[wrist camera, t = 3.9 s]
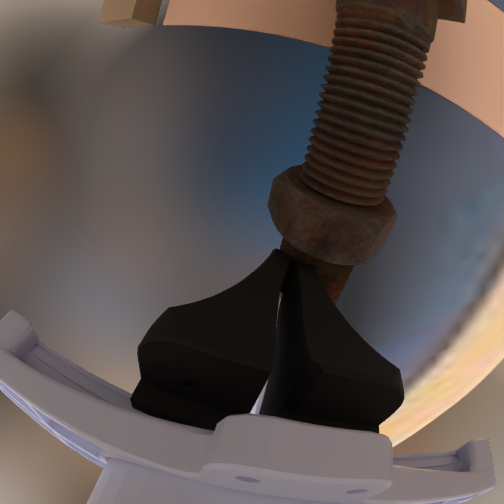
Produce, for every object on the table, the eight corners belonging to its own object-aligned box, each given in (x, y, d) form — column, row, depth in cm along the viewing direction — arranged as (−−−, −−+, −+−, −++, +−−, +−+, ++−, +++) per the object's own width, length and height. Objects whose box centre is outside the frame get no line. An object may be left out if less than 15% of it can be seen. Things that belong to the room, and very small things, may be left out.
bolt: (295, 244, 16) (361, -19, 7) (369, 293, 14) (469, 8, 5) (219, 291, 12) (285, -82, 3) (311, 364, 10) (454, -72, 1)
